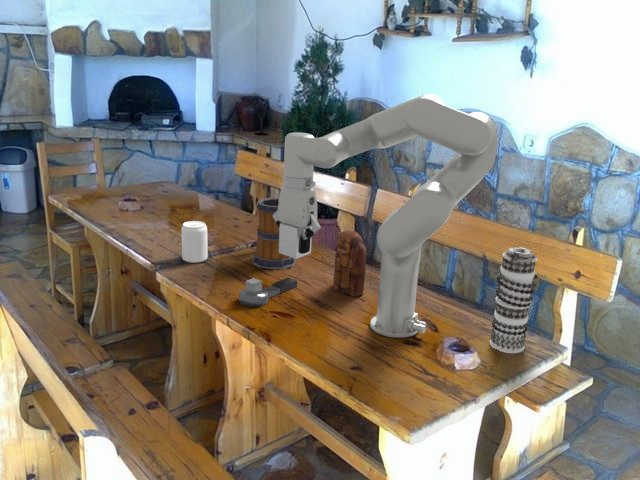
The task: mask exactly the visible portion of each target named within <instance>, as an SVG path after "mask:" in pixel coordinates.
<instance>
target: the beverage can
mask: <svg viewBox="0 0 640 480" xmlns="http://www.w3.org/2000/svg"><path fill="white" fill-rule="evenodd" d="M208 251H209V250H208V227H207V225H206V222H204V221H198V220H191V221H189V220H188V221H185V222H183V224H182V227H181V258H182V260H183V261H185V262H187V263H191V264H198V263H202V262H205V261H206V260H207V259H208Z"/></svg>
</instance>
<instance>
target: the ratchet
mask: <svg viewBox="0 0 640 480" xmlns="http://www.w3.org/2000/svg"><path fill="white" fill-rule="evenodd" d="M297 287H298V280H297V279H294V278H291V277H289V276H288V277H286V278H283V279H280V280H278V281H276V282H273V283H272V285H270V286H268V287H265V288H263V280H261V279H257V278H255V277H253V278H250V279H248V280H245V288H243V289H242V290H239V293H238V298H239V299H238V302H239V304H241V306H244V307H249V308H260V307H262V306H265V305H267V304H268V302H269V299H271V298H272V297H275V296H276V295H279V294H282V293H286V292H288V291H290V290H292V289H294V288H297Z"/></svg>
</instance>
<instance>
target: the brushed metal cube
mask: <svg viewBox="0 0 640 480" xmlns="http://www.w3.org/2000/svg"><path fill="white" fill-rule="evenodd" d="M312 228H313V226H311V229H312ZM306 233H307V229H306ZM312 238H313V237H312ZM312 238H310V251H309V252H307V253H304V254H301V253H300V247H301V239H303V237H302V228H299V227H296V226H292V225H289V224H285V223H280V231H279V253H280V254H283V255H286V256H289V257H292V258H295V260H296V259H300V258H303V257H304V256H307V255H310V254H312Z"/></svg>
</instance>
